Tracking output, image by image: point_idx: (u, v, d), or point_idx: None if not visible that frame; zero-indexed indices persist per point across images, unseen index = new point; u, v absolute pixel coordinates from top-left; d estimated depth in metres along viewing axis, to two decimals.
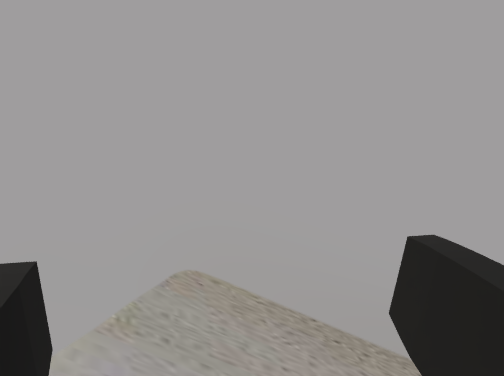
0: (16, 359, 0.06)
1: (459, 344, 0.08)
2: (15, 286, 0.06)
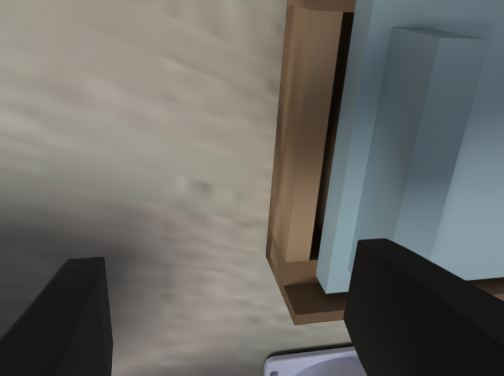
0: (95, 350, 0.07)
1: (403, 351, 0.07)
2: (94, 280, 0.07)
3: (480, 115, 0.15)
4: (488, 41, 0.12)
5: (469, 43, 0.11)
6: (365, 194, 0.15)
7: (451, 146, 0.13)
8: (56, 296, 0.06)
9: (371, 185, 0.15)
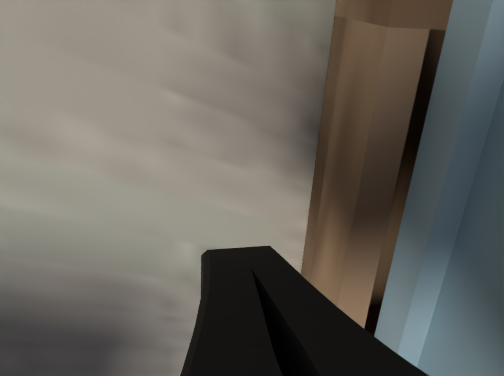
0: None
1: None
2: (249, 268, 0.07)
3: None
4: None
5: None
6: (450, 286, 0.11)
7: None
8: (224, 282, 0.07)
9: (462, 278, 0.10)
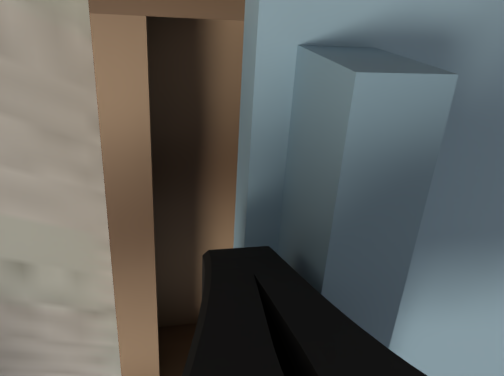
0: None
1: None
2: (250, 268, 0.07)
3: (455, 179, 0.10)
4: (454, 78, 0.06)
5: (417, 83, 0.06)
6: None
7: (394, 259, 0.07)
8: (225, 282, 0.07)
9: None
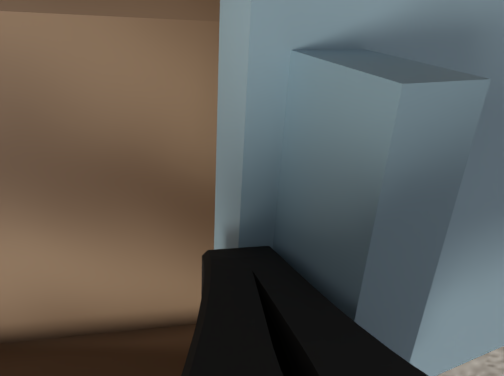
0: None
1: None
2: (250, 268, 0.07)
3: None
4: (488, 83, 0.06)
5: (455, 91, 0.05)
6: None
7: (421, 274, 0.07)
8: (225, 282, 0.07)
9: None
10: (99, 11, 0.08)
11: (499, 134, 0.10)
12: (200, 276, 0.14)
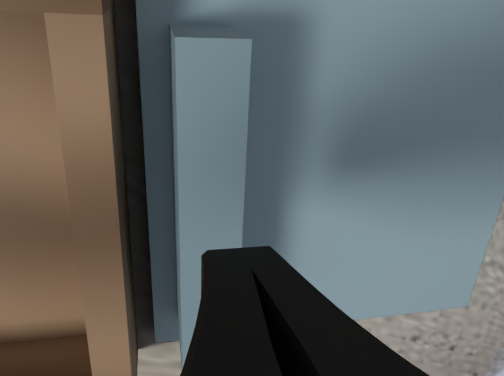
0: None
1: None
2: (249, 268, 0.07)
3: (314, 131, 0.13)
4: (249, 41, 0.09)
5: (222, 45, 0.09)
6: (175, 229, 0.13)
7: (232, 177, 0.10)
8: (224, 282, 0.07)
9: (175, 219, 0.12)
10: None
11: (379, 103, 0.13)
12: None
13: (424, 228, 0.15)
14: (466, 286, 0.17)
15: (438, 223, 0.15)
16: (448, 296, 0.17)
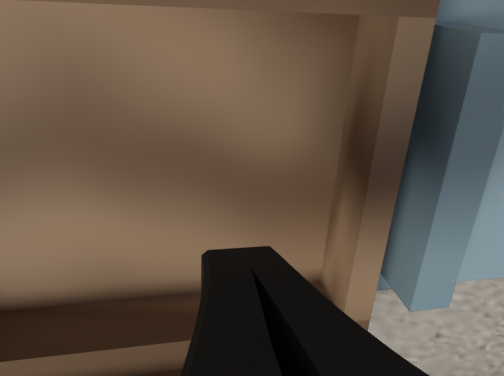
0: None
1: None
2: (249, 268, 0.07)
3: None
4: None
5: None
6: None
7: (489, 143, 0.13)
8: (224, 282, 0.07)
9: (403, 183, 0.15)
10: (170, 3, 0.09)
11: None
12: (238, 245, 0.15)
13: None
14: None
15: None
16: None
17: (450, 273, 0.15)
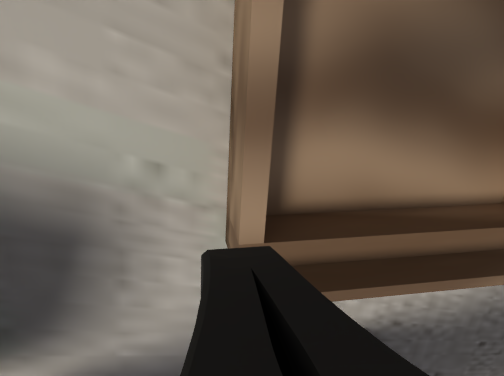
0: None
1: None
2: (249, 268, 0.07)
3: None
4: None
5: None
6: None
7: None
8: (224, 282, 0.07)
9: None
10: None
11: None
12: (454, 170, 0.20)
13: None
14: None
15: None
16: None
17: None
